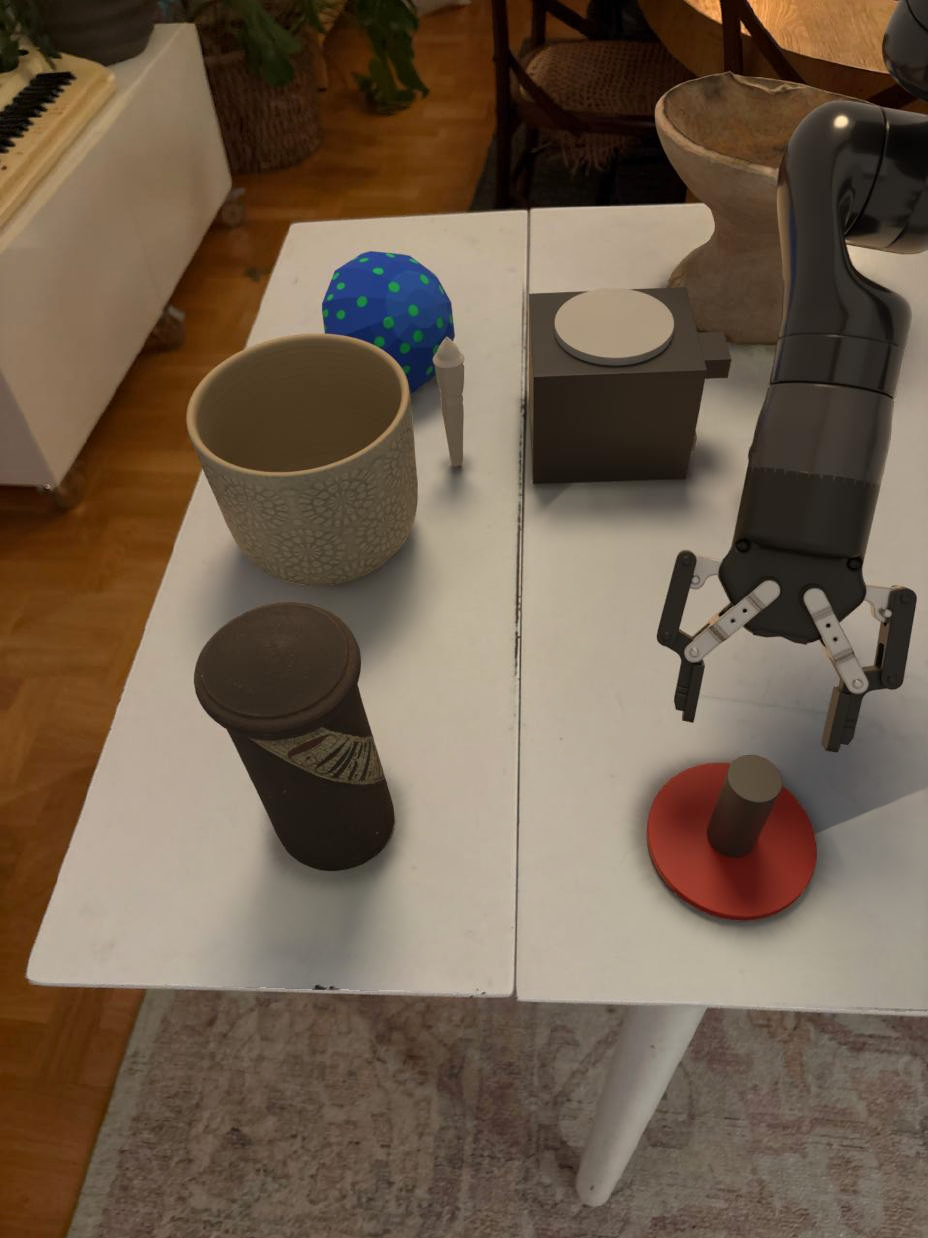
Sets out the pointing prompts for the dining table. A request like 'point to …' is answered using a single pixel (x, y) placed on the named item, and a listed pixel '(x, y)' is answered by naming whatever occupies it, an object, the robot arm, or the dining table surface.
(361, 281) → the polka dot ball
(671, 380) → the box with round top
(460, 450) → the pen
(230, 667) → the container
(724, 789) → the lid
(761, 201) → the bowl
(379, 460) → the planter
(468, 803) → the dining table surface
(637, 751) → the dining table surface
